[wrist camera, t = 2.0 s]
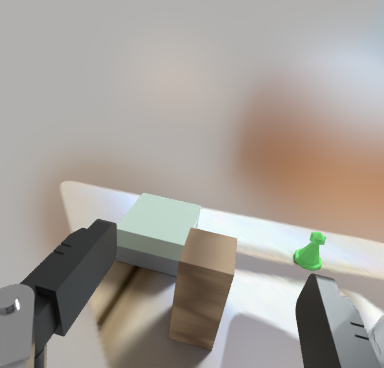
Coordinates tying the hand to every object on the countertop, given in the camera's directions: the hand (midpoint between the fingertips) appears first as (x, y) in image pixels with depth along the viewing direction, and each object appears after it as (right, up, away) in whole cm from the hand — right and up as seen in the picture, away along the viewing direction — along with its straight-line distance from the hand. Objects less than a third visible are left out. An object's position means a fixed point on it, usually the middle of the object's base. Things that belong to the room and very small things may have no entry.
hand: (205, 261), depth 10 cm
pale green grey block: (-6, -7, +31) cm, 32 cm away
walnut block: (0, -13, +20) cm, 24 cm away
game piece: (+19, -10, +32) cm, 38 cm away
